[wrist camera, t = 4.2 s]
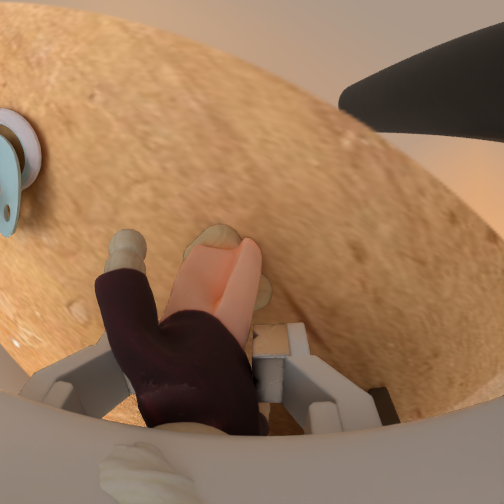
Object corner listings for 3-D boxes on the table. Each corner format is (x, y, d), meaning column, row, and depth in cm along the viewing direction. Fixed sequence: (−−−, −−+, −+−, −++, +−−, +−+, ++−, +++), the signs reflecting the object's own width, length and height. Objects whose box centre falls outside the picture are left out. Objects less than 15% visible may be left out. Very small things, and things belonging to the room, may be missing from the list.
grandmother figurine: (308, 294, 15) (391, 580, 3) (246, 338, 16) (245, 605, 4) (194, 168, 13) (-98, 411, 1) (133, 227, 13) (-76, 466, 2)
